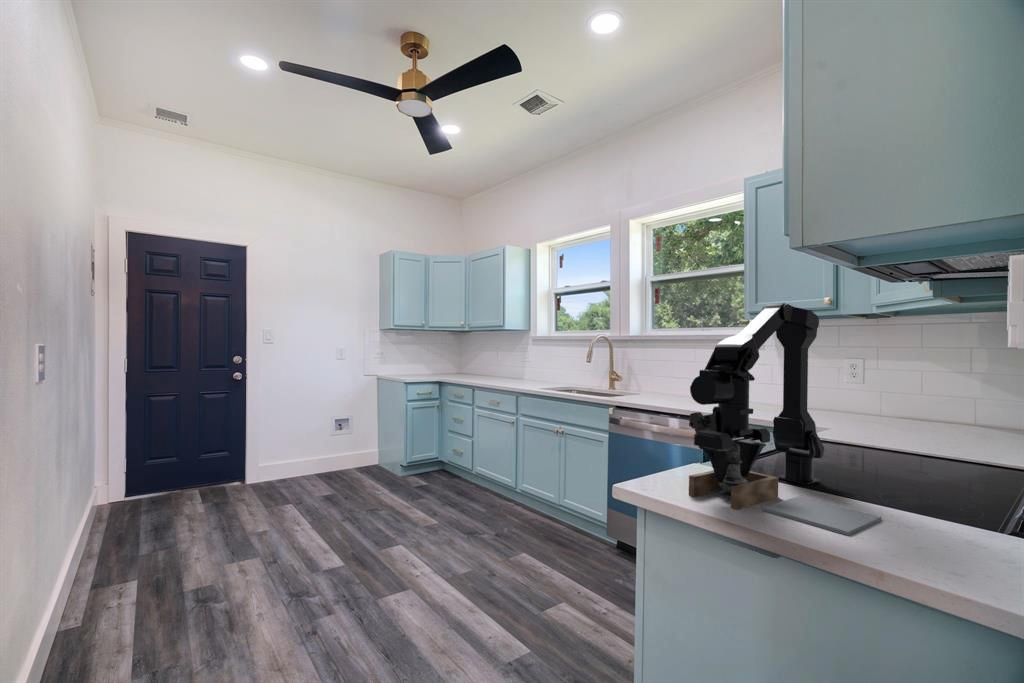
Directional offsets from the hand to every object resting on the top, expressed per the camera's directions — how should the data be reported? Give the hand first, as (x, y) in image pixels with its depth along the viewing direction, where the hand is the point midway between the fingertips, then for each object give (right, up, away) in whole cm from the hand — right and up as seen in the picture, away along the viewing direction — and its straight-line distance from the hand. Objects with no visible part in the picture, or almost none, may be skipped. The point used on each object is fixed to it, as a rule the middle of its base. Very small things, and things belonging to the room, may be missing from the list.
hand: (732, 478), depth 98 cm
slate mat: (+12, -4, -10) cm, 16 cm away
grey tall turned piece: (0, -4, 0) cm, 4 cm away
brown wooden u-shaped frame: (0, -4, 0) cm, 4 cm away
